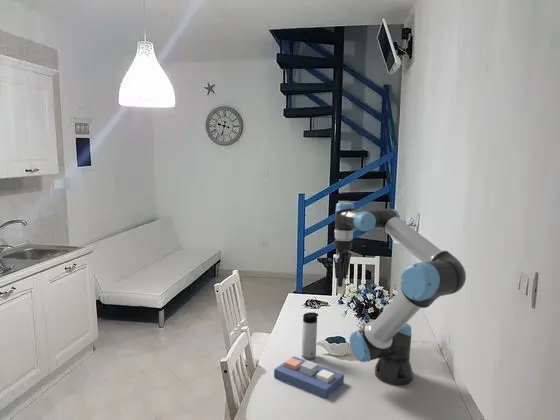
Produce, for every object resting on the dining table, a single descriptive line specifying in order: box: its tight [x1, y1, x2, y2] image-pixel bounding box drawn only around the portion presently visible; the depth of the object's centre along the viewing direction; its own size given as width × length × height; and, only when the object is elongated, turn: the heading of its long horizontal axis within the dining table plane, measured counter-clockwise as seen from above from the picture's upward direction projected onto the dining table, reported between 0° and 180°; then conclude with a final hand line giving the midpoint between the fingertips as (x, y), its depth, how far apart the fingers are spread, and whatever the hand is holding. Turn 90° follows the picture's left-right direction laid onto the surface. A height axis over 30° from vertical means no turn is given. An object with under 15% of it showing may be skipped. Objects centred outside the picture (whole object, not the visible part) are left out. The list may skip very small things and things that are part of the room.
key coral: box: [284, 357, 302, 371], centre depth 175 cm, size 5×5×4 cm
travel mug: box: [301, 311, 319, 361], centre depth 190 cm, size 6×7×20 cm
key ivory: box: [316, 369, 334, 384], centre depth 166 cm, size 5×5×4 cm
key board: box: [273, 356, 345, 399], centre depth 171 cm, size 24×14×4 cm, turn 54°
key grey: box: [300, 360, 318, 377], centre depth 171 cm, size 5×5×4 cm
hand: (340, 293), depth 183 cm, fingers closed
